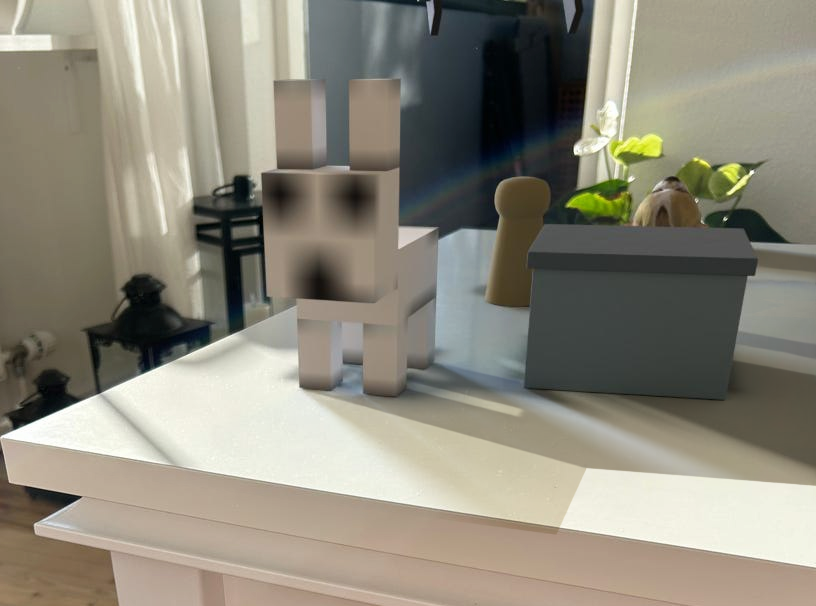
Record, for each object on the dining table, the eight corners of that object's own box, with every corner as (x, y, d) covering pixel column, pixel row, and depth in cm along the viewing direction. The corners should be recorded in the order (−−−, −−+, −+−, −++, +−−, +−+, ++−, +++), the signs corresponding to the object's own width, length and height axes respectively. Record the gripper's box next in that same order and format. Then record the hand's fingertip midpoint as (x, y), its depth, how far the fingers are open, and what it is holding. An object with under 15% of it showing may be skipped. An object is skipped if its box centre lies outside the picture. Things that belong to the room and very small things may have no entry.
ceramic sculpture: (722, 166, 120) (719, 189, 109) (711, 243, 125) (706, 273, 113) (630, 165, 124) (616, 188, 112) (622, 240, 128) (608, 270, 117)
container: (721, 355, 82) (744, 228, 77) (731, 402, 71) (758, 258, 66) (534, 345, 85) (544, 223, 80) (517, 389, 74) (527, 251, 70)
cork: (515, 309, 97) (524, 182, 91) (471, 298, 101) (477, 177, 96) (559, 300, 100) (570, 177, 94) (515, 290, 104) (523, 172, 99)
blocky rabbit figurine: (442, 353, 83) (453, 73, 73) (373, 417, 69) (374, 81, 59) (356, 346, 86) (354, 74, 76) (272, 407, 71) (256, 81, 61)
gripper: (592, -113, 108) (620, 52, 102) (357, -112, 106) (373, 56, 101) (615, -186, 100) (646, -13, 95) (363, -187, 99) (380, -10, 93)
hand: (506, 23), depth 98 cm, fingers open, 13 cm apart
